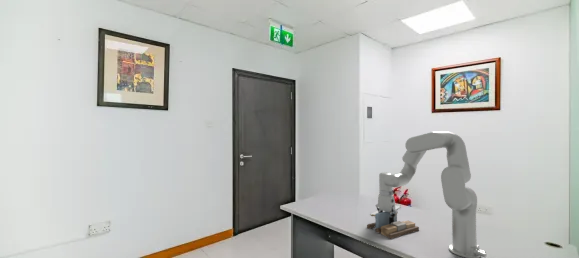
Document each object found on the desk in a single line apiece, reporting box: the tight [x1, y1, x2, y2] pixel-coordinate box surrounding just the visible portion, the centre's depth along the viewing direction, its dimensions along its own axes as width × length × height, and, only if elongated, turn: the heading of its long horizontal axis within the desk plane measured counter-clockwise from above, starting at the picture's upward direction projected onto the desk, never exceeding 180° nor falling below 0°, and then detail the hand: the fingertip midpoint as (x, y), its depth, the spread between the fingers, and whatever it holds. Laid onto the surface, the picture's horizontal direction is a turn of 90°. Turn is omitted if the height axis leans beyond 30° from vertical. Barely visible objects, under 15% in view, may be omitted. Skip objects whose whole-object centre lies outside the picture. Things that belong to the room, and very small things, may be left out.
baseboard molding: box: [369, 204, 401, 217], centre depth 180 cm, size 31×3×12 cm
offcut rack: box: [366, 220, 420, 240], centre depth 146 cm, size 18×24×2 cm
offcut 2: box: [391, 220, 406, 232], centre depth 142 cm, size 5×7×5 cm
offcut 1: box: [380, 224, 397, 238], centre depth 139 cm, size 5×7×4 cm
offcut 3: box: [403, 220, 416, 229], centre depth 146 cm, size 5×7×4 cm
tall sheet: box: [374, 212, 398, 229], centre depth 150 cm, size 2×16×9 cm, turn 117°
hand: (386, 221), depth 150 cm, fingers open, 7 cm apart
